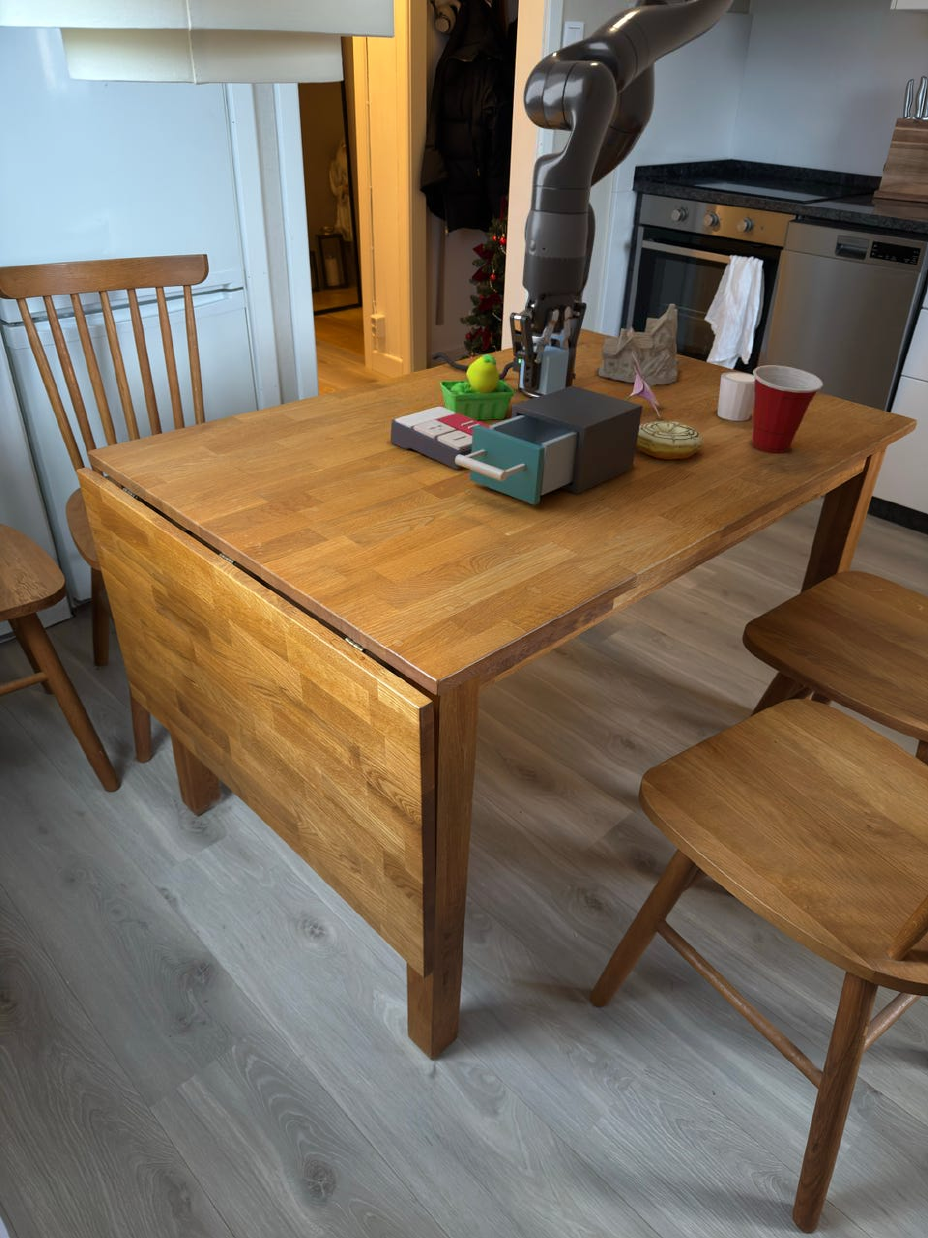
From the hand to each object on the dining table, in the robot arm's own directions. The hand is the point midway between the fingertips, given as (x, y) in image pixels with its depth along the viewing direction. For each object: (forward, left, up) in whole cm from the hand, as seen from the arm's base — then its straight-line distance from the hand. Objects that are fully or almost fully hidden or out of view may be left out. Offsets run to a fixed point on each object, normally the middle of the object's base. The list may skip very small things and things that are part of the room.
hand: (542, 385), depth 119 cm
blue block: (0, 0, 0) cm, 0 cm away
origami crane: (-8, +42, -15) cm, 46 cm away
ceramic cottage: (-22, +64, -15) cm, 70 cm away
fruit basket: (-26, +18, -15) cm, 35 cm away
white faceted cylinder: (+4, +54, -15) cm, 56 cm away
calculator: (-19, +3, -15) cm, 25 cm away
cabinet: (-1, +11, -15) cm, 19 cm away
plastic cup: (+16, +44, -15) cm, 49 cm away
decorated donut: (+5, +29, -15) cm, 33 cm away
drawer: (-1, -2, -14) cm, 14 cm away
